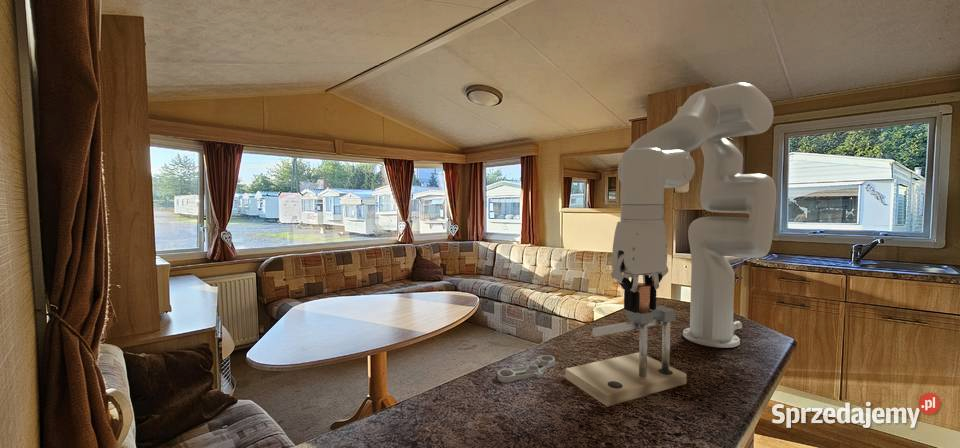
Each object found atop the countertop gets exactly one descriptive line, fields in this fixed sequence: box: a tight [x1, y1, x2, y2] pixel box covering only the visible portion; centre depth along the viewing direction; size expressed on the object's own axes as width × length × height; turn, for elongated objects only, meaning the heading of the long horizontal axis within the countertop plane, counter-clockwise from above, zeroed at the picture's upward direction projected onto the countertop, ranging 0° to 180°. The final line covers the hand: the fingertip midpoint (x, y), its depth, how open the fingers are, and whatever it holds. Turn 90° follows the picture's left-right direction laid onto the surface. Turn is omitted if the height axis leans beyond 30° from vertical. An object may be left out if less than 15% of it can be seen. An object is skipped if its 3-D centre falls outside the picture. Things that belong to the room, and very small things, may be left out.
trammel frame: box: [592, 305, 677, 373], centre depth 75 cm, size 18×4×12 cm, turn 114°
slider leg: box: [626, 282, 653, 377], centre depth 75 cm, size 4×4×18 cm
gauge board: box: [564, 351, 687, 407], centre depth 78 cm, size 20×12×2 cm, turn 114°
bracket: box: [497, 354, 556, 384], centre depth 82 cm, size 8×2×15 cm
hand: (639, 308), depth 75 cm, fingers closed on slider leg, 3 cm apart
